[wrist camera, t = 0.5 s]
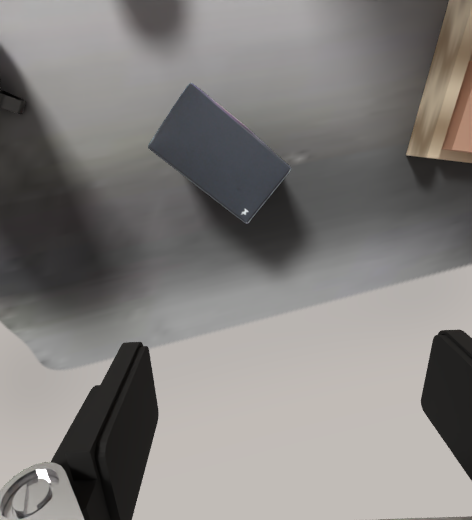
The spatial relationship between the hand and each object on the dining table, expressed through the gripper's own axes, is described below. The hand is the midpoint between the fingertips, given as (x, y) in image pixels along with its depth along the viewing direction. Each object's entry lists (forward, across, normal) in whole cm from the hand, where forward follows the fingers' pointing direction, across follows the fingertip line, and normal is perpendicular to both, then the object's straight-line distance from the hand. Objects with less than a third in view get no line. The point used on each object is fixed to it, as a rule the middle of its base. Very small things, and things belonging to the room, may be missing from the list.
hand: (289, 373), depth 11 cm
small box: (+30, +2, -6) cm, 30 cm away
